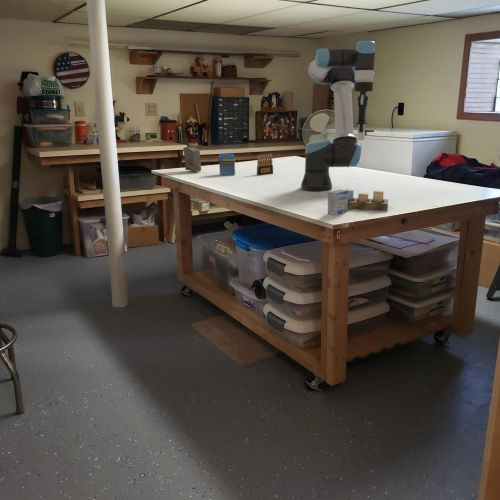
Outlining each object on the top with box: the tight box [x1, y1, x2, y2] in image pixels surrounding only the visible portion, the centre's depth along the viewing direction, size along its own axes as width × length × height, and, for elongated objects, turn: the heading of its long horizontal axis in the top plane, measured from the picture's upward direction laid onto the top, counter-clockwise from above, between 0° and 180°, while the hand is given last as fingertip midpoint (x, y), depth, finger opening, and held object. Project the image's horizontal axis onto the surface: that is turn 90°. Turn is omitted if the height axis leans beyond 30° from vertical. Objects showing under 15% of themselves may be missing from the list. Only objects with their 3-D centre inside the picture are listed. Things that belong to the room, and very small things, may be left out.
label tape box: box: [218, 153, 236, 176], centre depth 299 cm, size 9×4×12 cm, turn 84°
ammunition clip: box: [256, 153, 274, 177], centre depth 299 cm, size 11×2×12 cm, turn 125°
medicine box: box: [327, 189, 348, 215], centre depth 204 cm, size 8×4×9 cm, turn 138°
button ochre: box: [372, 190, 384, 203], centre depth 211 cm, size 4×4×5 cm
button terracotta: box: [357, 192, 369, 202], centre depth 213 cm, size 4×4×5 cm
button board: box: [347, 197, 389, 212], centre depth 213 cm, size 20×9×3 cm, turn 74°
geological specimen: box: [182, 146, 202, 173], centre depth 311 cm, size 11×6×15 cm, turn 35°
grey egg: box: [346, 189, 355, 201], centre depth 214 cm, size 4×4×5 cm
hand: (360, 140), depth 218 cm, fingers closed
